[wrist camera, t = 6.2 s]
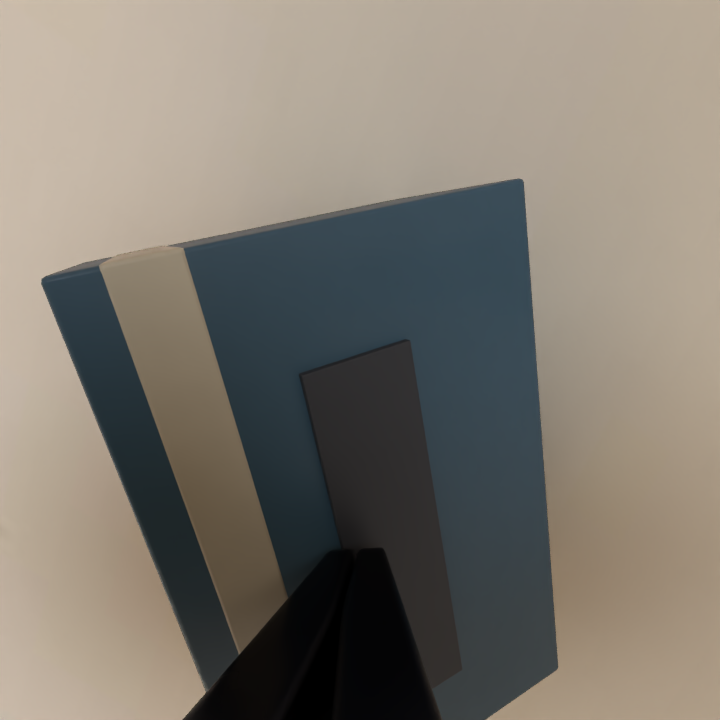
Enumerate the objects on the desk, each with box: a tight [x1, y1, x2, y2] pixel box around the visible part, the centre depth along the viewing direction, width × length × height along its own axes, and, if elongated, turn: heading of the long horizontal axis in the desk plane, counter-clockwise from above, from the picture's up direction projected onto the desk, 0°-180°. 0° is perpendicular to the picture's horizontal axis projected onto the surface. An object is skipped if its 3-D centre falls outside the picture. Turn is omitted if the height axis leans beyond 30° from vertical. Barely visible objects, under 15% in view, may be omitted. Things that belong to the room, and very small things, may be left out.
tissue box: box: [41, 179, 558, 720], centre depth 10 cm, size 11×5×7 cm
